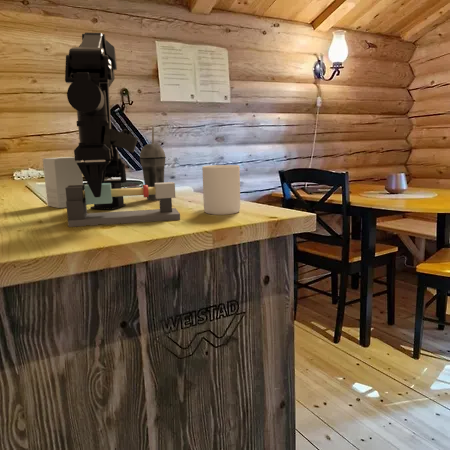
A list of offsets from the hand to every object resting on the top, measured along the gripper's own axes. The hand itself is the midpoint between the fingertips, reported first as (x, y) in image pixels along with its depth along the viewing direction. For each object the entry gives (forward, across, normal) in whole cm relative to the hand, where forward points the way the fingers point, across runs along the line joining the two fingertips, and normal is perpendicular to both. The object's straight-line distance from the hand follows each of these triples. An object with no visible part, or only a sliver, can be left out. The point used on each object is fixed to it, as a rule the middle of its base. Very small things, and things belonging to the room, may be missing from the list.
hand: (99, 194), depth 86 cm
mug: (+6, +4, -26) cm, 27 cm away
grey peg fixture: (+6, 0, -5) cm, 8 cm away
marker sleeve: (+2, 0, 0) cm, 2 cm away
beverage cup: (+6, +30, -13) cm, 33 cm away
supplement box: (+6, +27, +10) cm, 30 cm away
